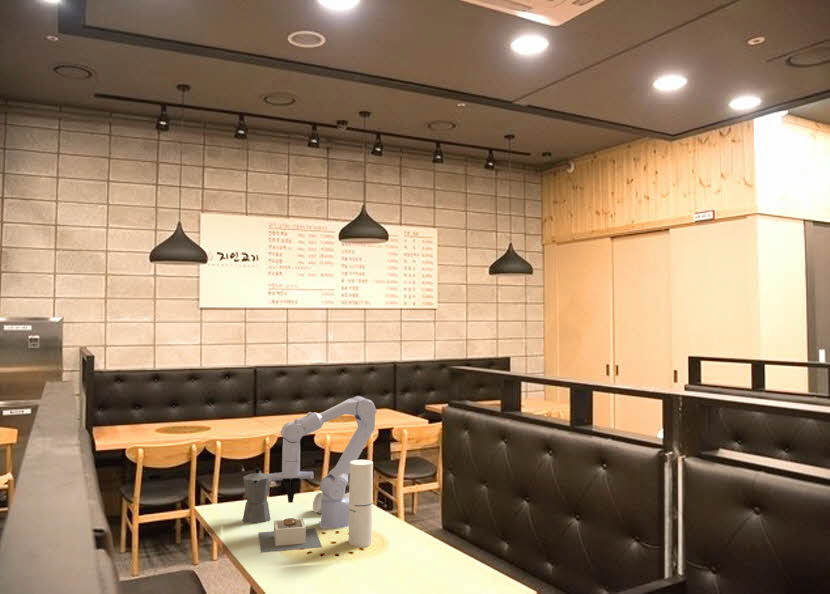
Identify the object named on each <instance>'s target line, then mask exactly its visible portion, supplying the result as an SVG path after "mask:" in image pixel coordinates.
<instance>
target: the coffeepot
mask: <svg viewBox="0 0 830 594" xmlns="http://www.w3.org/2000/svg"><path fill="white" fill-rule="evenodd" d="M254 472H255V473H249V474H247V475H246V474H245V476H243V478H242V480H243V487H244V492H245V497H246V502H245V505H244V511H243V516H242V522H243V524H262V523H266V522H269V521H271V514H270V508H269V502H268V496H269V493H270V487H271V482H272V481H268V474H269V473H263V472H262V470H261V468H259V467H256V468H254Z"/></svg>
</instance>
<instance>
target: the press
mask: <svg viewBox="0 0 830 594" xmlns="http://www.w3.org/2000/svg"><path fill="white" fill-rule="evenodd" d="M295 519H296V524H295V525H293V526H292V528H288V526H285V525H283V522H284V519H279V520H278V519H277V520H273V531H274V540H275V546H280V545H292V544H304V543H306V529H307V527H306V524H305V521H304V518H295Z"/></svg>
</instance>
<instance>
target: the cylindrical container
mask: <svg viewBox="0 0 830 594" xmlns="http://www.w3.org/2000/svg"><path fill="white" fill-rule="evenodd" d="M373 470H374V461H372V460H370V459H369V460H368V459H357V460H353V461H351V462H350V473H349V527H348V544H350V545H351V546H355V547H359V548H360V547H364V548H367V547H366V546H368V547H370V546H372V543H373V492H374V491H373V488H374V487H373V485H374V484H373V481H374V478H373V477H374V471H373ZM369 545H370V546H369Z"/></svg>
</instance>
